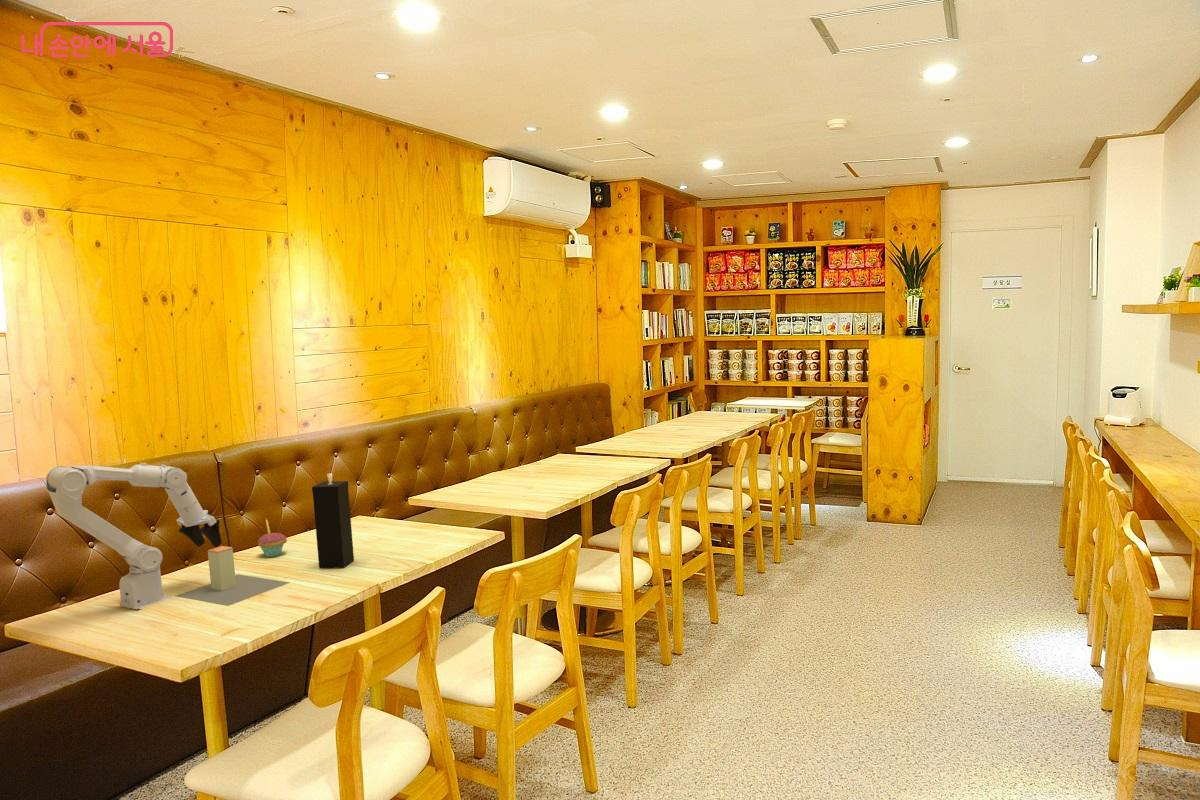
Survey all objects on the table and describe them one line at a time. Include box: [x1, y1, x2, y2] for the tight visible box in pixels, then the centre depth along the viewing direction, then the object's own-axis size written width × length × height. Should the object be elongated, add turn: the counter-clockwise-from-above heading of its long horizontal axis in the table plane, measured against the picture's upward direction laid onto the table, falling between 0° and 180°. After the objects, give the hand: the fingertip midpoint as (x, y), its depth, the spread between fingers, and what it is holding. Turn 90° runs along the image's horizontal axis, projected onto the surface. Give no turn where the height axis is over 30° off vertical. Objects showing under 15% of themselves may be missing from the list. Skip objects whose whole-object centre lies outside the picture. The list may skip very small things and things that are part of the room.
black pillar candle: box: [311, 472, 355, 569], centre depth 247 cm, size 8×8×28 cm
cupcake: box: [257, 518, 288, 558], centre depth 263 cm, size 9×8×12 cm
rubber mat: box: [175, 573, 291, 607], centre depth 228 cm, size 20×22×1 cm
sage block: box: [207, 545, 236, 591], centre depth 229 cm, size 4×4×11 cm
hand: (210, 545), depth 234 cm, fingers open, 7 cm apart
